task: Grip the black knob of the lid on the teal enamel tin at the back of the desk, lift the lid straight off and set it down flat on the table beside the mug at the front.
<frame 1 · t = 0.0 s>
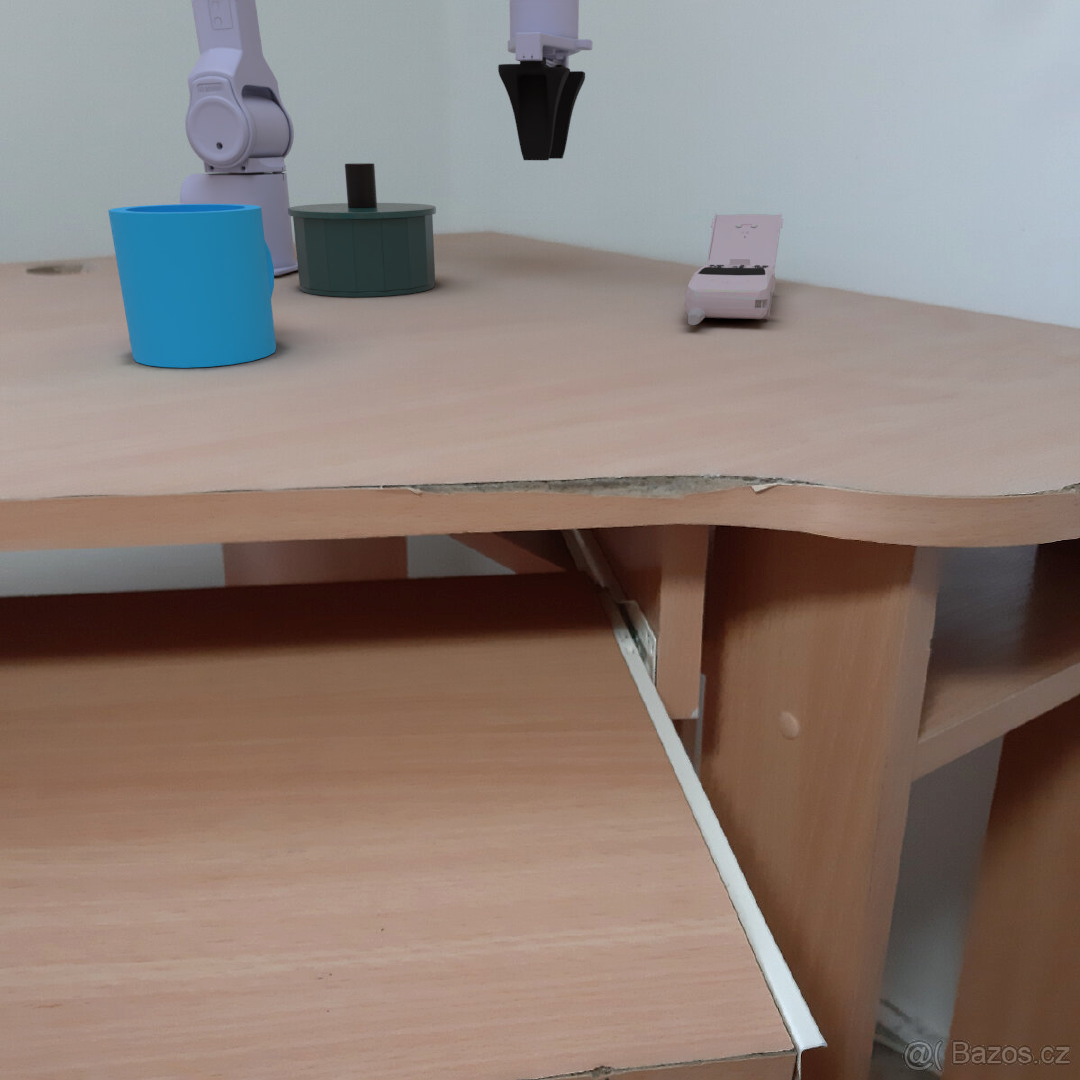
hand: (544, 159, 83), 10 cm above the table, tool pointing down, fingers open, 7 cm apart
pale pink hinged device: (733, 306, 74), on the table
lid: (363, 213, 80), point 6 cm above the table, touching tin
mug: (224, 349, 59), on the table
tin: (368, 286, 82), on the table
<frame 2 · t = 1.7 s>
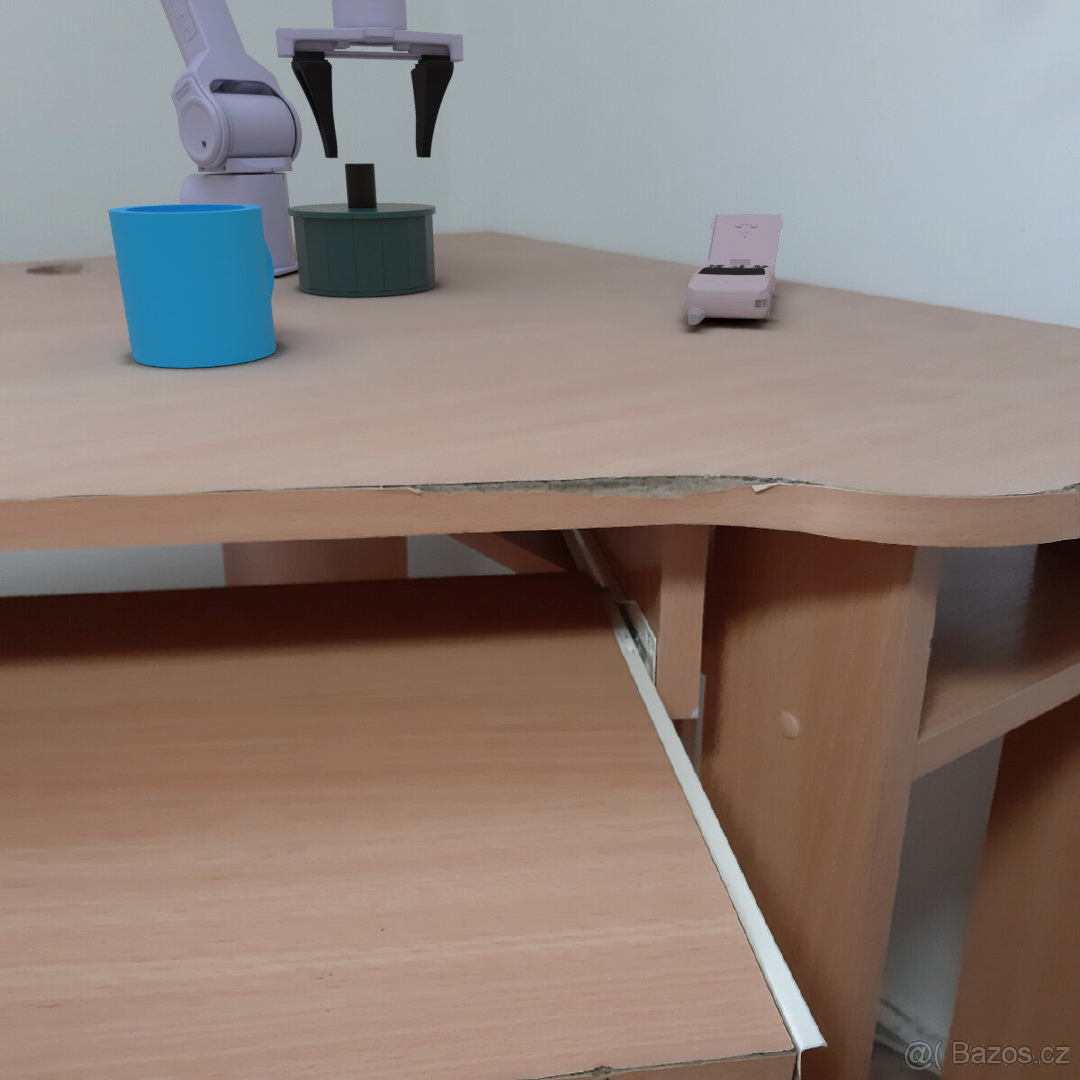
hand: (378, 157, 79), 10 cm above the table, tool pointing down, fingers open, 7 cm apart
nothing on the table moved.
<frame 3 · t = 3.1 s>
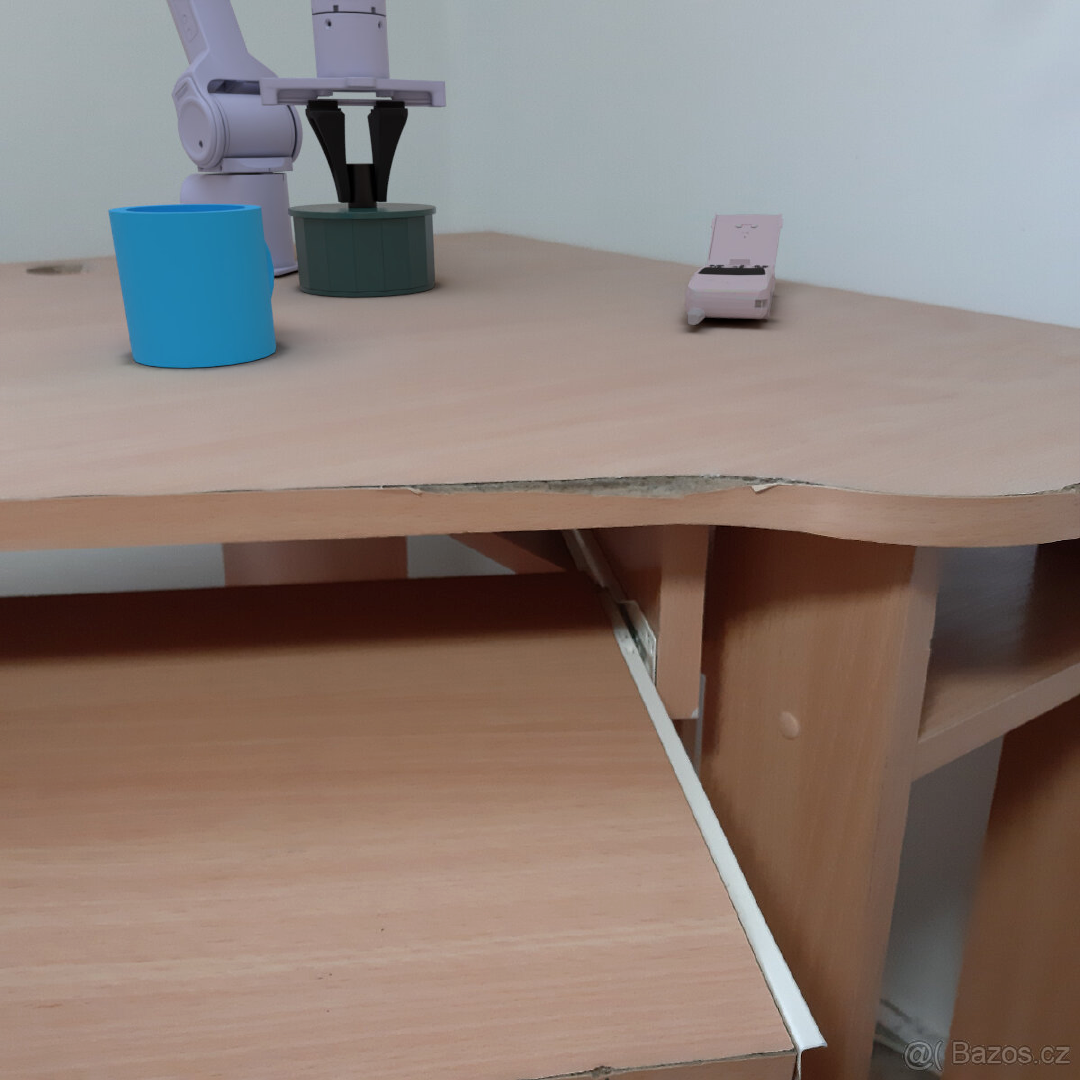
hand: (362, 202, 80), 7 cm above the table, tool pointing down, fingers closed on lid, 2 cm apart
lid: (363, 213, 80), point 6 cm above the table, touching gripper, tin
everything else where it was.
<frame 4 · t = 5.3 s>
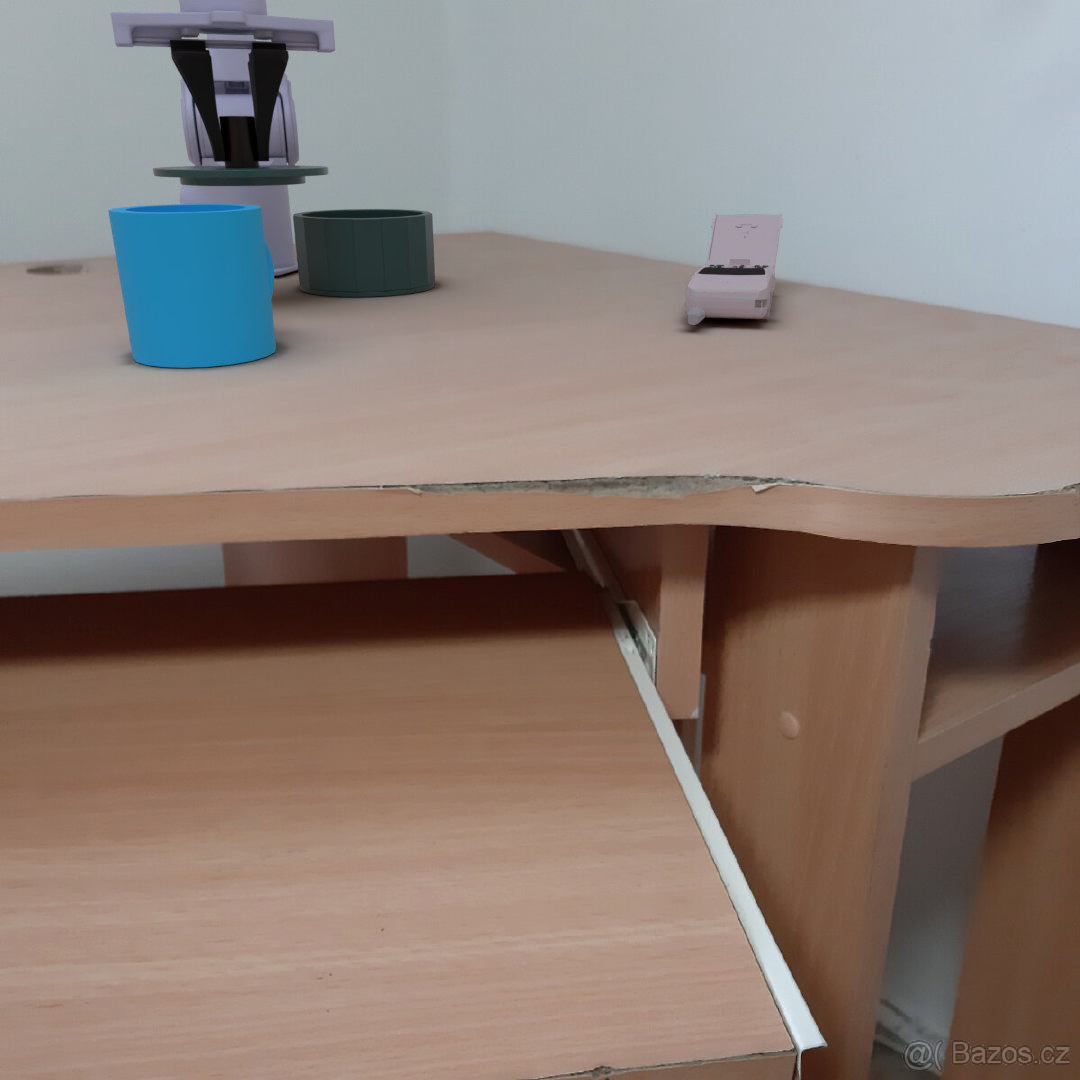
hand: (241, 161, 69), 10 cm above the table, tool pointing down, fingers closed on lid, 2 cm apart
lid: (243, 174, 70), point 9 cm above the table, touching gripper
everything else where it was.
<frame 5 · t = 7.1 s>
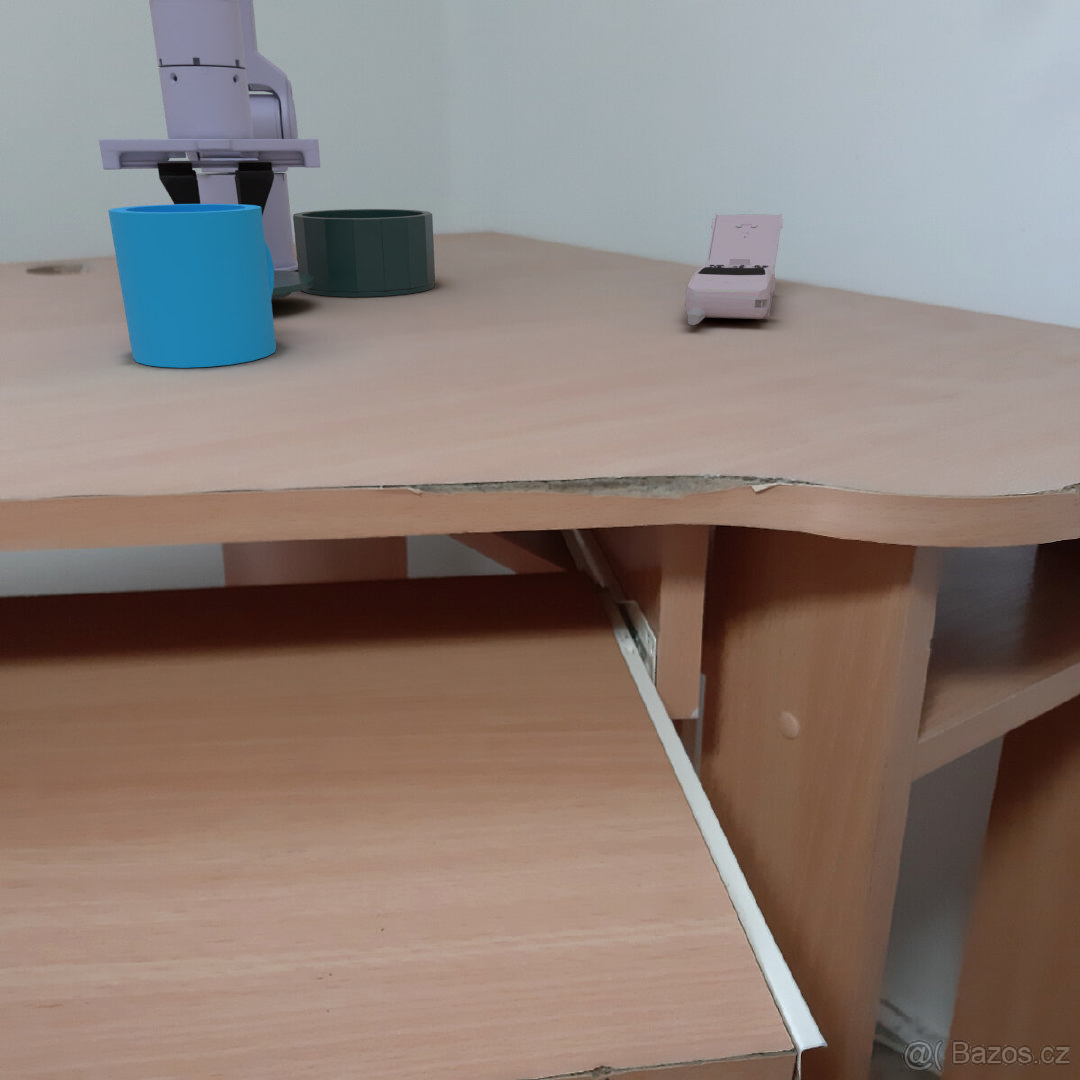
hand: (228, 274, 70), 3 cm above the table, tool pointing down, fingers closed on lid, 2 cm apart
lid: (230, 286, 71), point 2 cm above the table, touching gripper
everything else where it was.
when the fingers open (1 cm above the table, at t = 7.8 s): lid stays where it is, point 1 cm above the table.
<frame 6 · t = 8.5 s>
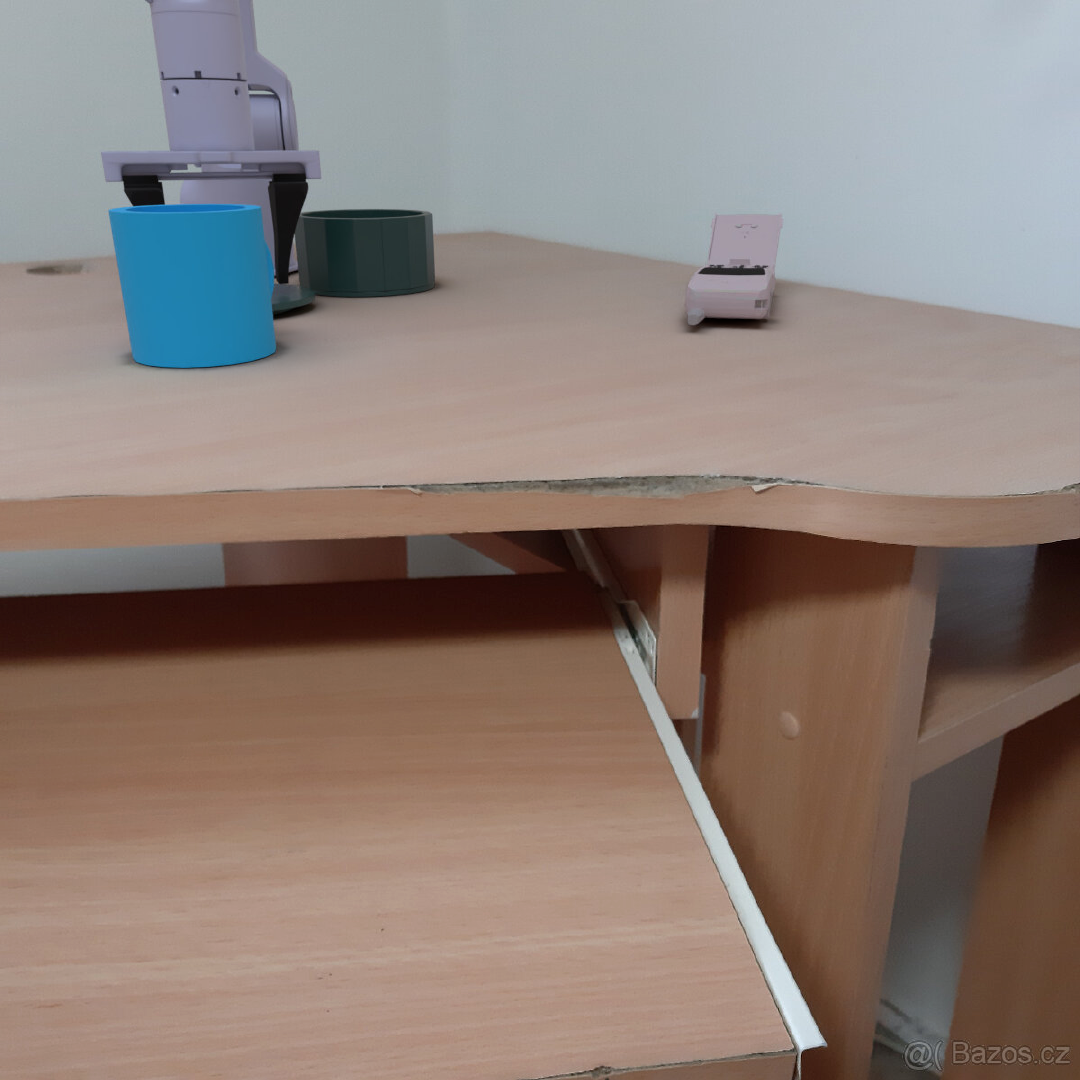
hand: (229, 284, 71), 2 cm above the table, tool pointing down, fingers open, 7 cm apart
lid: (232, 301, 71), point 1 cm above the table
everything else where it was.
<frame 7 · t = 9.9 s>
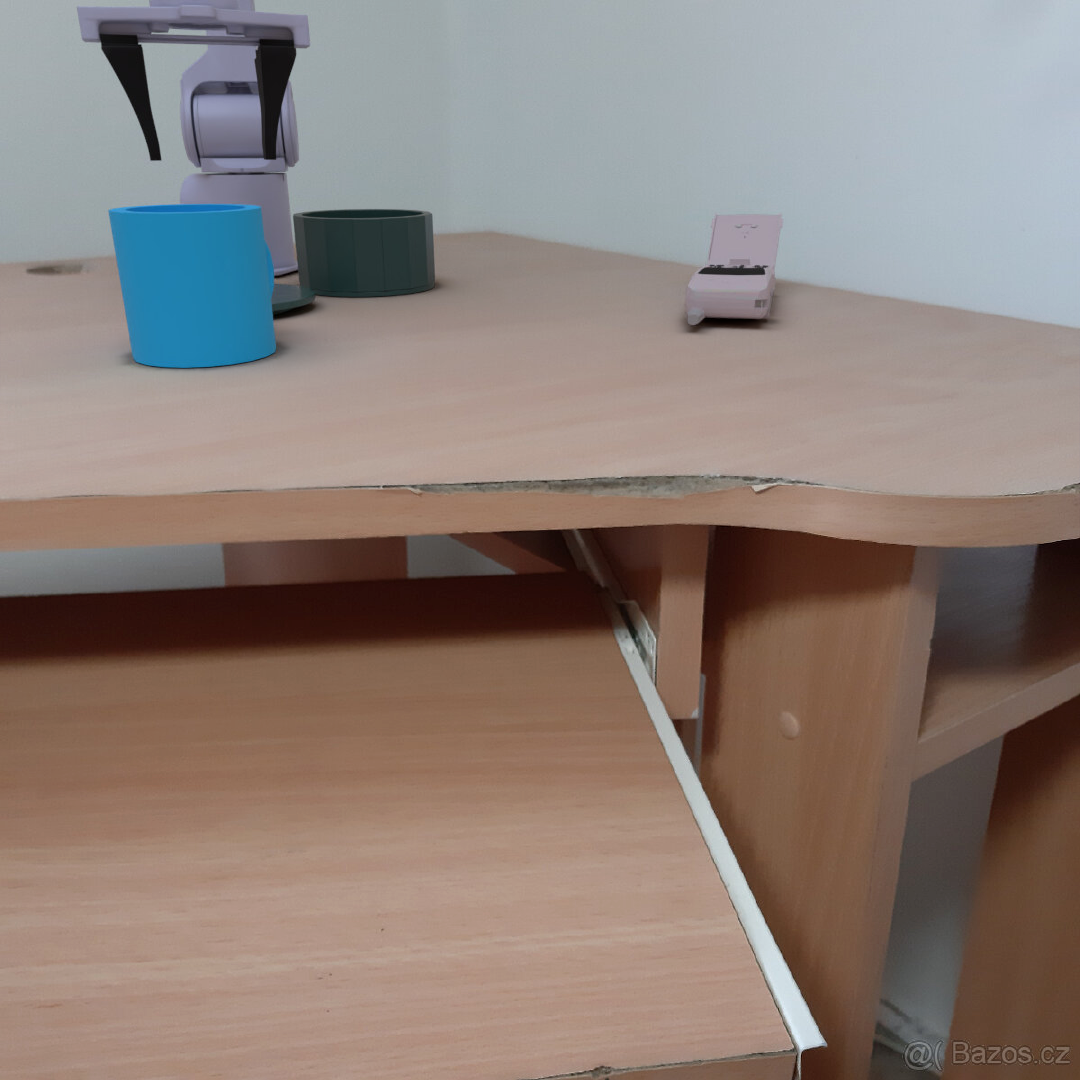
hand: (214, 160, 67), 10 cm above the table, tool pointing down, fingers open, 7 cm apart
nothing on the table moved.
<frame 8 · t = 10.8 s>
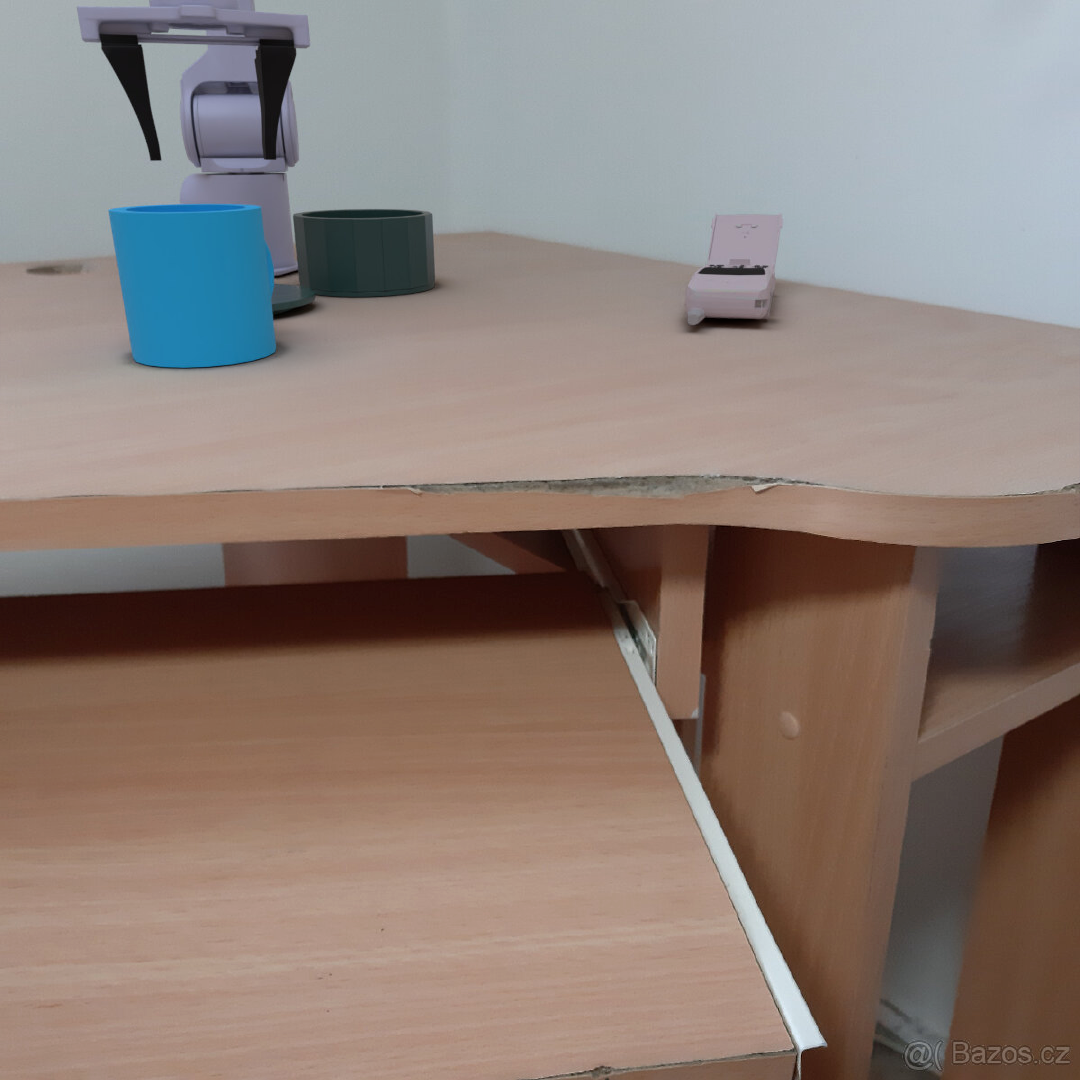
hand: (214, 160, 67), 10 cm above the table, tool pointing down, fingers open, 7 cm apart
nothing on the table moved.
at the end: lid point 0.6 cm above the table; lid inside the target area on the table beside the mug (0.1 cm from its centre), point 0.8 cm above the table; lid tilted 0° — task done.
